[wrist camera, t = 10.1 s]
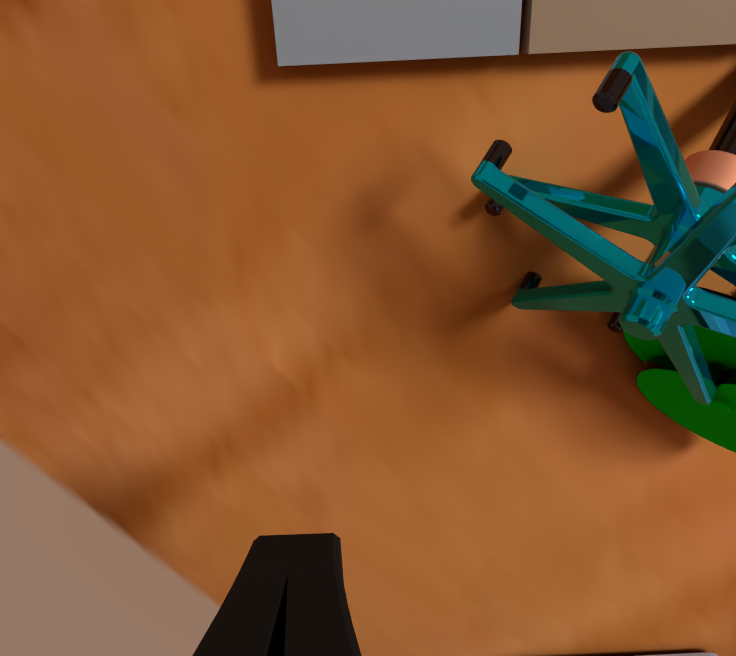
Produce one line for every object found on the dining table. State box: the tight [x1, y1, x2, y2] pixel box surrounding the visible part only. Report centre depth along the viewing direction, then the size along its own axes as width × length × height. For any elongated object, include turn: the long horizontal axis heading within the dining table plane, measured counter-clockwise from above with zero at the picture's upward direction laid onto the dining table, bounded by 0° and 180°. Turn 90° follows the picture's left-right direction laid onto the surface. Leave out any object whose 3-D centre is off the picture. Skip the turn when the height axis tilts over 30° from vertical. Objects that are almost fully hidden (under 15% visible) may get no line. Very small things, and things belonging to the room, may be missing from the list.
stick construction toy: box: [471, 51, 736, 452], centre depth 13 cm, size 12×7×8 cm
